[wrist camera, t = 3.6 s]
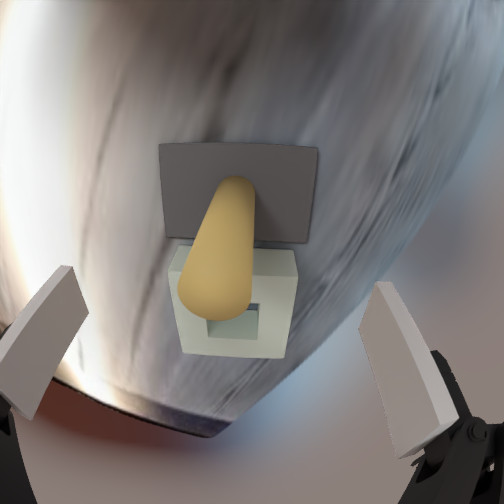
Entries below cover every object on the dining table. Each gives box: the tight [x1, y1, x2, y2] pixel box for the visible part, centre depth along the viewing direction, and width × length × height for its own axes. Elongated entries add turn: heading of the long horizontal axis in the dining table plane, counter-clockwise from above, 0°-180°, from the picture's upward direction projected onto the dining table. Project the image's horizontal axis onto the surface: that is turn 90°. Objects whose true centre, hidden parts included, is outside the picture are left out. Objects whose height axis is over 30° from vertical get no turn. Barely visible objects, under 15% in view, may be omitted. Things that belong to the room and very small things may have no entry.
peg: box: [177, 176, 255, 321], centre depth 16 cm, size 3×3×12 cm
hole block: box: [167, 245, 298, 358], centre depth 25 cm, size 10×10×4 cm
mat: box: [159, 142, 318, 243], centre depth 21 cm, size 12×8×1 cm, turn 88°
